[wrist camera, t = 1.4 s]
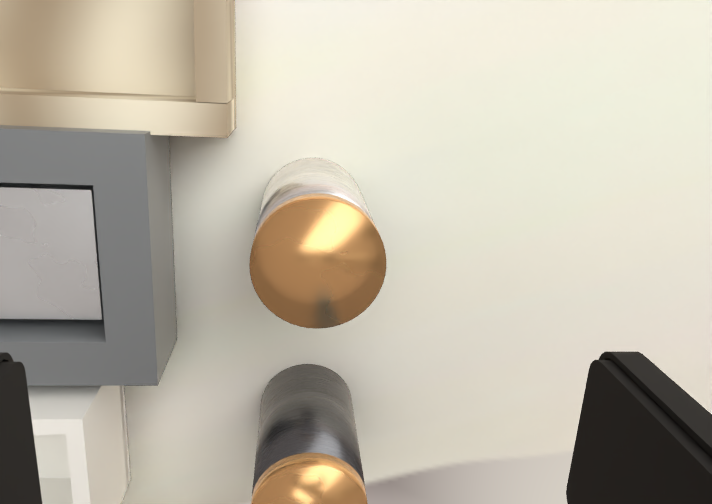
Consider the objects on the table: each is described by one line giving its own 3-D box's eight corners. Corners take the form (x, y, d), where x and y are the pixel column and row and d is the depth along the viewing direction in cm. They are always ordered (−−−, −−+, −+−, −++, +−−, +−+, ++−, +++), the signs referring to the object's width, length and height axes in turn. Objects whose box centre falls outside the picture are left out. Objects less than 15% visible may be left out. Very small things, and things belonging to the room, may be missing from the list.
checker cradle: (168, 120, 23) (144, 134, 20) (177, 338, 26) (158, 385, 22) (-89, 110, 22) (-163, 121, 19) (-51, 337, 25) (-109, 385, 21)
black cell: (353, 364, 27) (372, 466, 21) (349, 442, 28) (365, 562, 22) (261, 363, 27) (249, 468, 20) (260, 443, 28) (250, 566, 21)
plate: (98, 184, 22) (91, 189, 21) (108, 310, 23) (101, 319, 22) (-47, 180, 21) (-60, 185, 21) (-28, 309, 23) (-39, 318, 22)
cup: (121, 351, 26) (82, 419, 21) (130, 479, 28) (96, 567, 23) (-41, 350, 25) (-119, 420, 21) (-20, 481, 27) (-86, 572, 23)
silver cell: (365, 159, 24) (390, 201, 18) (359, 256, 26) (381, 328, 19) (262, 156, 24) (249, 197, 17) (261, 254, 25) (249, 328, 19)
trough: (234, -108, 21) (224, -132, 18) (235, 127, 23) (227, 138, 21) (-147, -138, 20) (-221, -169, 17) (-103, 113, 22) (-162, 123, 19)
